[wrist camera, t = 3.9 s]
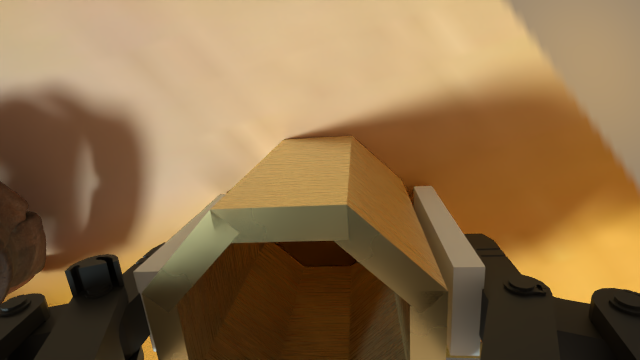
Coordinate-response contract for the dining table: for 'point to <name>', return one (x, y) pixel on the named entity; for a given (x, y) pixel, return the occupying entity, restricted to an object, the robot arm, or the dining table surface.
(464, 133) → the dining table surface
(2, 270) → the pottery mug
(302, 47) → the dining table surface
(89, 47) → the dining table surface
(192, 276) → the sleeve
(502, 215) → the dining table surface
